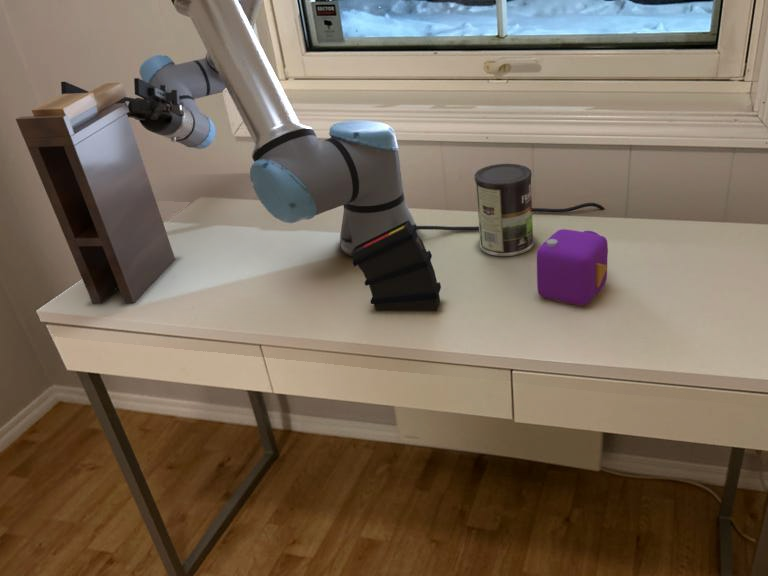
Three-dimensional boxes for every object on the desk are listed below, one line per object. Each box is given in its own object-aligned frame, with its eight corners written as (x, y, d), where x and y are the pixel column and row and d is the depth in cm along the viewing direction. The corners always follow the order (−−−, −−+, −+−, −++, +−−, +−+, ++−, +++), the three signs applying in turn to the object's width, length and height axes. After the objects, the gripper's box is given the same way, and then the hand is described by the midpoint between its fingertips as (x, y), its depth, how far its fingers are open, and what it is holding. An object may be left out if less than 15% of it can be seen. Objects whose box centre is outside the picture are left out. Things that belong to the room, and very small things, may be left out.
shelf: (177, 257, 148) (121, 85, 130) (134, 303, 134) (63, 117, 115) (139, 257, 149) (78, 87, 131) (92, 303, 135) (15, 119, 116)
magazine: (455, 304, 122) (406, 227, 115) (389, 332, 127) (338, 261, 120) (459, 292, 125) (411, 217, 118) (394, 321, 130) (344, 250, 123)
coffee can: (537, 233, 146) (535, 163, 138) (529, 257, 138) (526, 184, 130) (485, 232, 148) (480, 162, 140) (474, 256, 140) (468, 183, 132)
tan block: (132, 95, 135) (125, 75, 133) (71, 131, 119) (62, 108, 117) (104, 97, 136) (97, 76, 134) (40, 132, 120) (31, 109, 118)
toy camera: (614, 272, 131) (616, 218, 125) (598, 311, 120) (600, 255, 115) (554, 266, 134) (553, 214, 129) (533, 304, 124) (531, 249, 118)
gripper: (224, 133, 150) (168, 107, 129) (108, 138, 153) (34, 112, 132) (223, 95, 149) (166, 62, 128) (106, 100, 152) (32, 68, 131)
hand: (99, 87), depth 130 cm, fingers open, 13 cm apart
